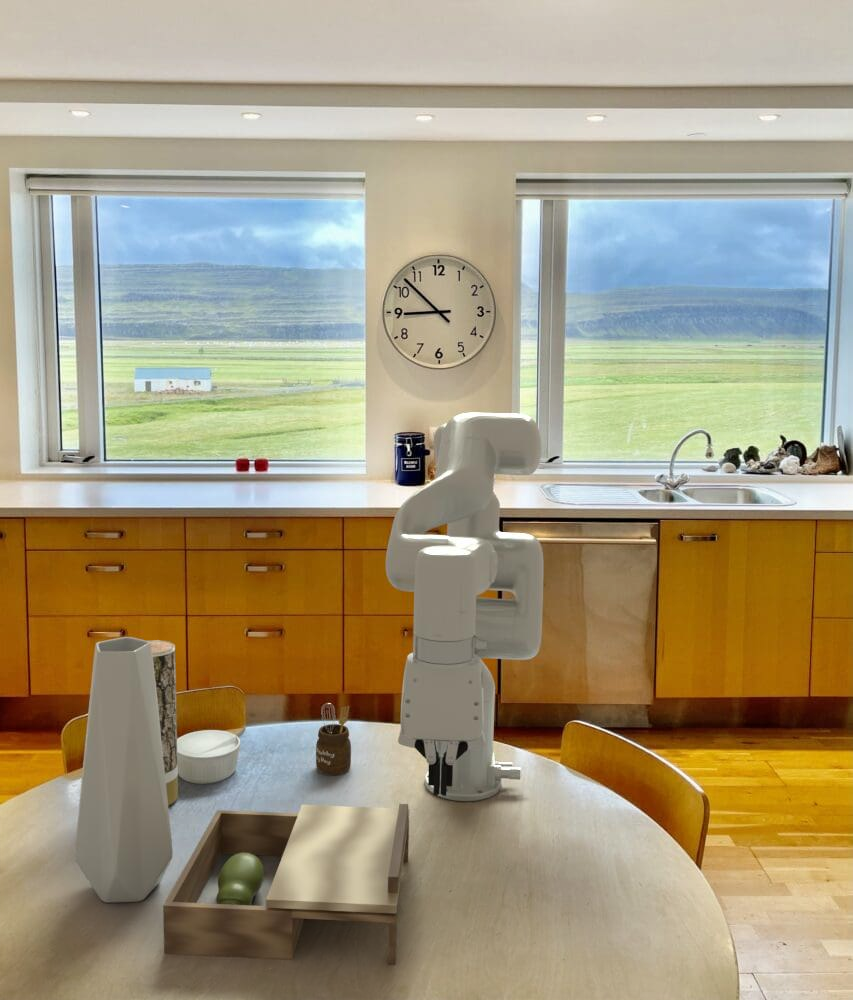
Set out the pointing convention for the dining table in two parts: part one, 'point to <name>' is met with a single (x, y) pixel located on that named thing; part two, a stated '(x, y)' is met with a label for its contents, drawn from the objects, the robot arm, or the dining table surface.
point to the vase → (123, 777)
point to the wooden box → (244, 924)
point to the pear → (240, 879)
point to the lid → (342, 860)
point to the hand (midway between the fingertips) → (440, 790)
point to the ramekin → (207, 756)
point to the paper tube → (167, 711)
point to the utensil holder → (334, 746)
